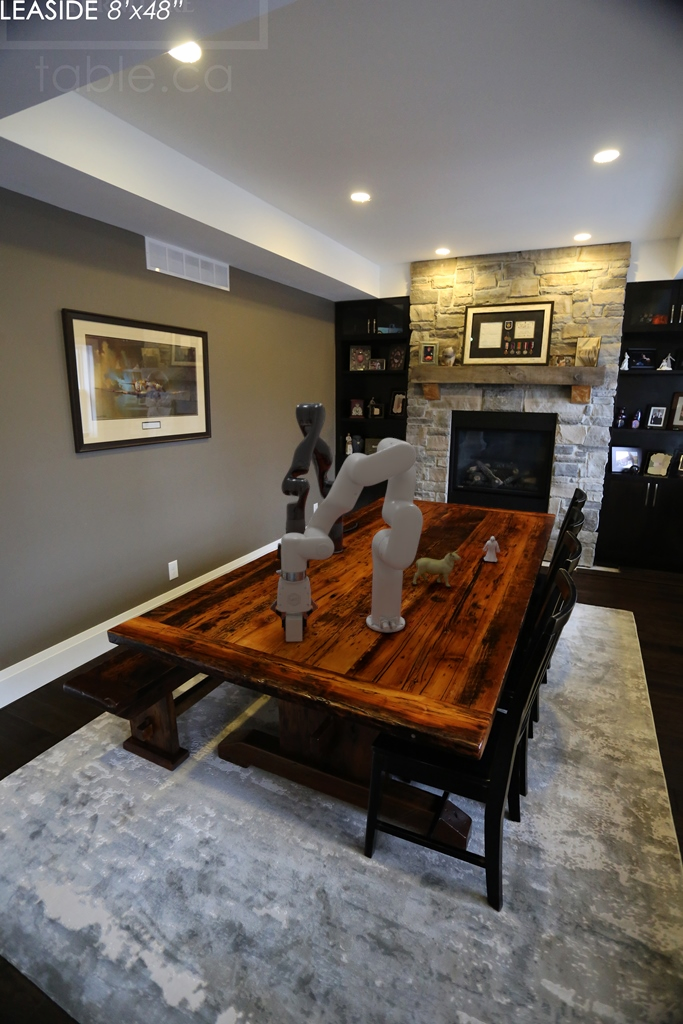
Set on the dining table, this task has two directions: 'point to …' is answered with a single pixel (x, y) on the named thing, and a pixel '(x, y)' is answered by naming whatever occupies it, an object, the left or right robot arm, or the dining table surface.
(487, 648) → the dining table surface
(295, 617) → the bar
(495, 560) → the figurine
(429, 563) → the toy
